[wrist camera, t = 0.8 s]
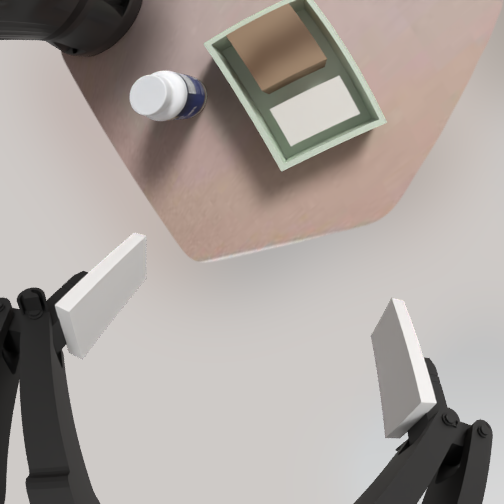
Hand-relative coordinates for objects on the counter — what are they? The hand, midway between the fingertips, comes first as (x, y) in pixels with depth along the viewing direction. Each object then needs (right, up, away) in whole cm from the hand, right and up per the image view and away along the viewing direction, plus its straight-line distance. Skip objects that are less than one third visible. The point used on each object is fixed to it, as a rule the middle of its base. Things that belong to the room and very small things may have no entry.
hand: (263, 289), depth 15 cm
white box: (+6, +17, +15) cm, 23 cm away
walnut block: (+3, +23, +12) cm, 26 cm away
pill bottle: (-8, +20, +17) cm, 28 cm away
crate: (+4, +21, +14) cm, 25 cm away
